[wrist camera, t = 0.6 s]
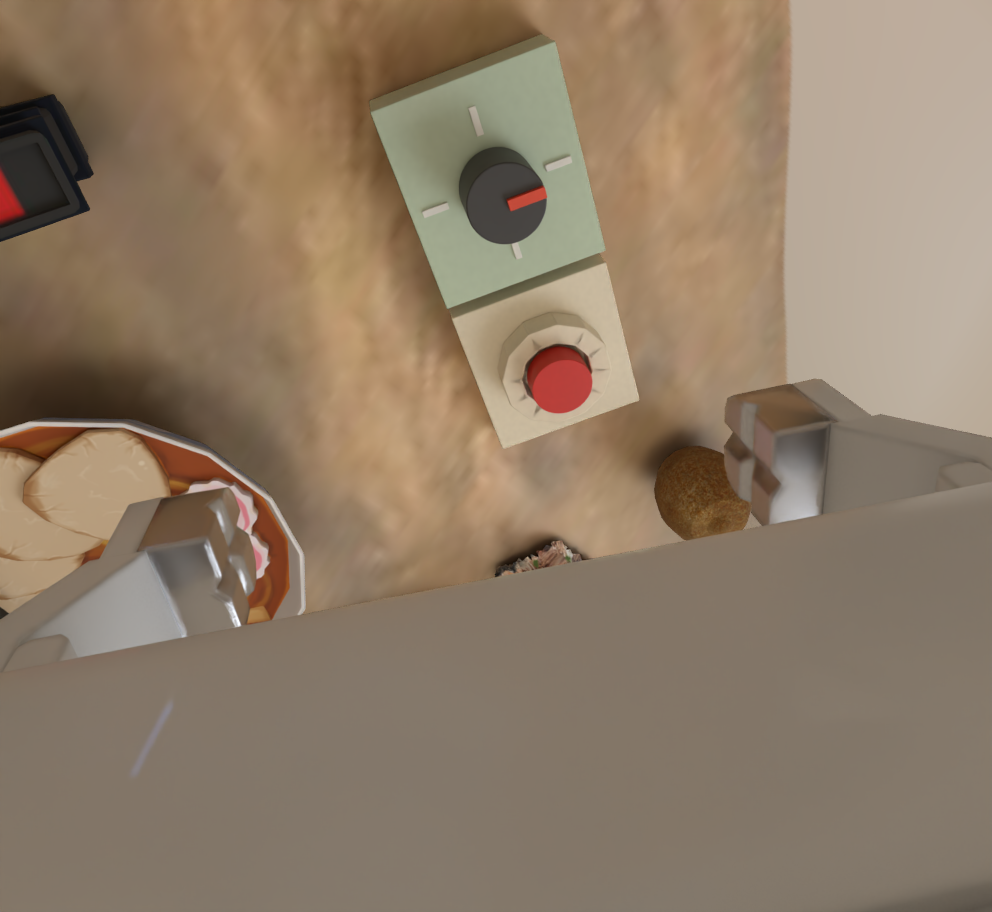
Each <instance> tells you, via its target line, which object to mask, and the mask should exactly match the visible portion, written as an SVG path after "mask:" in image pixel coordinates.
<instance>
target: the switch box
mask: <svg viewBox="0 0 992 912" xmlns="http://www.w3.org/2000/svg"><path fill="white" fill-rule="evenodd" d="M449 311H450V314H451V318H452V321H453V324H454V326H455V329H456V332H457V334H458V337H459V339H460V342H461V344H462V347H463V349H464V352H465V355H466V357H467V360H468V362H469V365H470V367H471V370H472V372H473V375H474V378H475V380H476V383H477V385H478V388H479V390H480V393H481V395H482V398H483V401H484V403H485V406H486V408H487V411H488V413H489V416H490V419H491V421H492V424H493V426H494V429H495V431H496V434H497V436H498V439H499V442H500V444H501V447H502V449H505V448H508V447H510V446H513V445H516V444H519V443H522V442H524V441H527V440H530V439H533V438H536V437H538V436H541V435H544V434H547V433H550V432H552V431H555V430H558V429H561V428H563V427H566V426H569V425H572V424H575V423H577V422H580V421H583V420H586V419H589V418H591V417H594V416H597V415H600V414H603V413H605V412H608V411H611V410H614V409H617V408H619V407H622V406H625V405H628V404H630V403H633V402H636V401H639V395H638V391H637V387H636V383H635V379H634V375H633V371H632V367H631V363H630V359H629V355H628V350H627V346H626V342H625V338H624V334H623V330H622V326H621V322H620V318H619V314H618V309H617V305H616V301H615V297H614V293H613V289H612V285H611V281H610V277H609V273H608V269H607V264H606V262H605V261H604V259H603V258H602V257H601V255H600V254H599V253H597V254H595V255H592V256H589V257H586V258H584V259H581V260H578V261H576V262H573V263H570V264H568V265H565V266H562V267H559V268H557V269H554V270H551V271H549V272H546V273H543V274H541V275H538V276H535V277H532V278H530V279H527V280H524V281H522V282H519V283H516V284H513V285H511V286H508V287H505V288H503V289H500V290H497V291H495V292H492V293H489V294H486V295H484V296H481V297H478V298H476V299H473V300H470V301H467V302H465V303H462V304H459V305H457V306H454V307H451V308H449ZM558 346H561V347H568V348H571V349H573V350H575V351H576V352H578V353H579V354H580V355H581V357H582V358H583V360H584V362H585V364H586V366H587V367H588V369H589V371H590V373H591V376H592V381H593V384H592V390H591V393H590V395H589V397H588V398H587V400H586V401H585V402H584V403H583V404H582V405H581V406H579V407H578V408H576V409H575V410H573V411H570V412H567V413H559V414H558V413H551V412H548V411H545V410H543V409H542V408H541V407H539V406H538V404H537V403H536V402H535V400H534V398H533V395H532V392H531V390H530V387H529V385H528V381H527V371H528V368H529V366H530V363H531V362H532V360H533V359H534V358H535V357H536V356H537V355H538V354H539V353H541V352H542V351H544V350H546V349H548V348H552V347H558Z"/></svg>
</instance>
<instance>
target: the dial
mask: <svg viewBox="0 0 992 912" xmlns="http://www.w3.org/2000/svg"><path fill="white" fill-rule="evenodd" d="M459 195H460V199H461V202H462V205H463V207H464V210H465V212H466V214H467V217H468V219H469V222H470V224H471V226H472V227H473V229H474V230H475V231H476V232H477V233H478V234H479V235H480V236H481V237H482V238H484V239H486V240H487V241H490V242H492V243H496V244H513V243H516V242H519V241H521V240H524V239H525V238H527V237H528V236H530V235H531V234H532V233H533V232H534V231H535V230H536V229H537V228H538V226H539V225H540V223H541V222H542V219H543V217H544V215H545V211H546V206H547V194H546V190H545V187H544V185H543V183H542V181H541V179H540V178H539V176H538V175H537V174H536V172H535V171H534V170H533V168H532V167H531V166H530V164H529V163H528V162H527V160H526V159H525V158H524V157H523V156H522V155H520V154H519V153H518V152H516V151H514V150H512V149H509V148H505V147H492V148H488V149H485V150H483V151H480V152H479V153H477V154H476V155H474V156H473V157H472V158H471V159H470V160H469V161H468V163H467V164H466V165H465V167H464V169H463V171H462V173H461V176H460V180H459Z"/></svg>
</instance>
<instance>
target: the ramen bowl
mask: <svg viewBox="0 0 992 912" xmlns="http://www.w3.org/2000/svg"><path fill="white" fill-rule="evenodd" d="M225 487H229V488H230V489H231V490H232V492H233V493H234V495H235V497H236V500H237V503H238V505H239V508H240V515H239V518H238V522H237V526H238V527H239V528H241V529H242V530H244V531H245V532H246V533H248V534H249V537H250V540H251V543H252V546H253V550H254V555H255V559H256V575H257V579H256V584H255V590H254V591H253V592H252V593H251V594H250V595H249V596H248V597H247V600H248V603H249V606H250V612H249V617H248V621H247V625H250V624H255V623H260V622H265V621H270V620H276V619H281V618H286V617H291V616H297V615H302V613H303V612H304V610H305V608H306V605H305V563H304V553H303V551H302V550H301V548H300V546H299V544H298V543H297V541H296V539H295V537H294V535H293V534H292V532H291V530H290V528H289V527H288V525H287V523H286V521H285V520H284V518H283V516H282V514H281V512H280V511H279V509H278V507H277V505H276V504H275V502H274V500H273V499H272V497H271V496H270V495H269V493H268V492H267V491H266V490H265V488H263V487H262V486H261V485H259V484H258V483H256V482H255V481H254V480H252V479H251V478H250V477H248V476H247V475H246V474H244V473H243V472H242V471H240V470H239V469H238V468H236V467H235V466H234V465H232V464H231V463H230V462H228V461H227V460H226V459H224V458H223V457H222V456H220V455H219V454H218V453H216V452H215V451H214V450H212V449H211V448H210V447H208V446H207V445H205V444H203V443H201V442H198V441H195V440H192V439H189V438H186V437H183V436H180V435H177V434H174V433H172V432H169V431H166V430H163V429H160V428H157V427H154V426H151V425H148V424H145V423H143V422H140V421H137V420H132V419H87V418H42V419H38V420H34V421H30V422H27V423H23V424H20V425H17V426H14V427H11V428H7V429H4V430H1V431H0V619H2V618H3V617H5V616H6V615H8V614H9V613H11V612H12V611H14V610H16V609H17V608H19V607H20V606H22V605H23V604H25V603H26V602H28V601H29V600H31V599H32V598H34V597H35V596H37V595H38V594H40V593H41V592H43V591H44V590H46V589H47V588H49V587H50V586H52V585H53V584H55V583H56V582H58V581H59V580H61V579H62V578H64V577H65V576H67V575H68V574H70V573H71V572H73V571H74V570H76V569H78V568H79V567H81V566H82V565H84V564H85V563H87V562H88V561H91V560H96V559H99V558H100V556H101V555H102V553H103V551H104V549H105V547H106V545H107V544H108V542H109V540H110V538H111V536H112V534H113V532H114V531H115V529H116V527H117V525H118V523H119V521H120V520H121V518H122V516H123V514H124V512H125V510H126V509H127V507H128V505H129V504H132V503H136V502H141V501H146V500H150V499H155V498H159V497H164V498H165V497H170V496H176V495H182V494H188V493H194V492H200V491H206V490H212V489H219V488H225Z"/></svg>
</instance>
